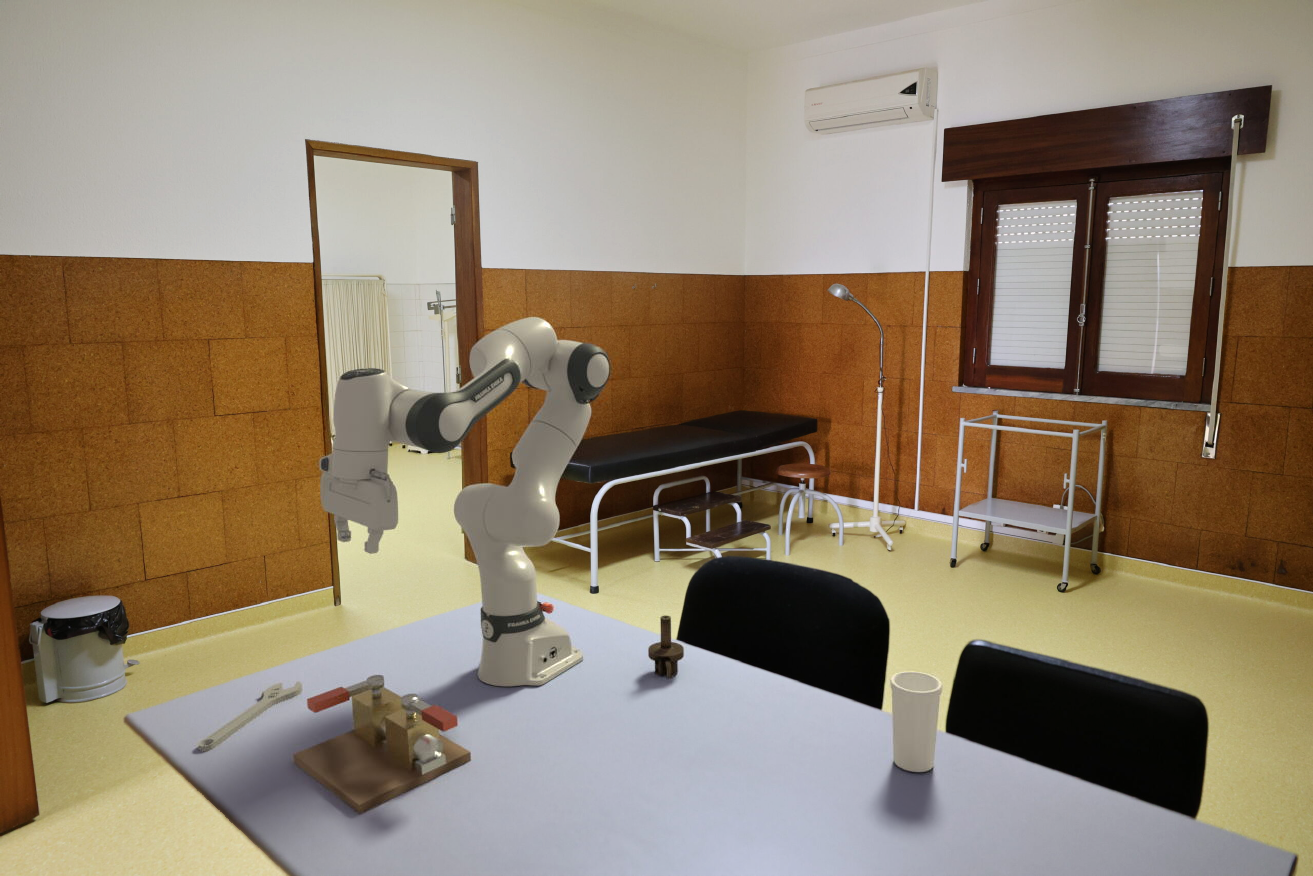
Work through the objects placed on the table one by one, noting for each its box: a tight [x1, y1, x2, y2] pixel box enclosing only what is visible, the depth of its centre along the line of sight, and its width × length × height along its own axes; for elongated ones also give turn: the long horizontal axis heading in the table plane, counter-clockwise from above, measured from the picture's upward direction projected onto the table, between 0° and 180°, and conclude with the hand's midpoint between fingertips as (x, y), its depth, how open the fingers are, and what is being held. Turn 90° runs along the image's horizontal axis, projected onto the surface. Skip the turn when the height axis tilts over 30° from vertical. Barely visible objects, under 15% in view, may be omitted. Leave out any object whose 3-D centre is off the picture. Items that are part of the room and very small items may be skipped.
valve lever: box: [306, 674, 385, 714], centre depth 144 cm, size 13×3×2 cm, turn 137°
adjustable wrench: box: [198, 681, 303, 752], centre depth 160 cm, size 25×6×2 cm, turn 162°
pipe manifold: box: [351, 686, 459, 775], centre depth 142 cm, size 6×28×10 cm, turn 47°
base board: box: [292, 729, 472, 814], centre depth 143 cm, size 20×22×2 cm
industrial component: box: [647, 614, 685, 680], centre depth 175 cm, size 9×7×12 cm
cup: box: [889, 670, 944, 773], centre depth 138 cm, size 8×8×14 cm
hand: (357, 546), depth 144 cm, fingers open, 8 cm apart
